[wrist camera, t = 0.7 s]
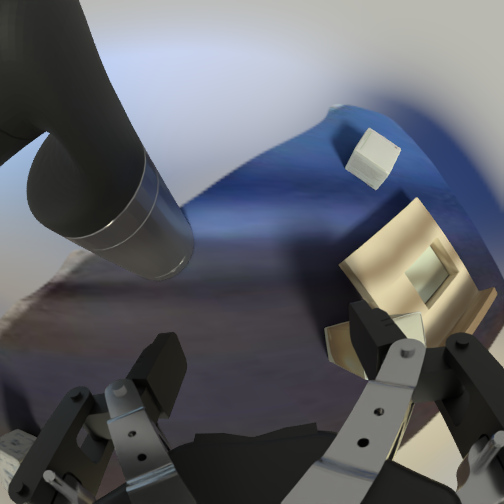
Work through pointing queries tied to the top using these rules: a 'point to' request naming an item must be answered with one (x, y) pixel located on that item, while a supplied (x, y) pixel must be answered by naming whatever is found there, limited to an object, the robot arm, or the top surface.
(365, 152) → the small box
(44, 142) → the robot arm
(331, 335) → the skincare box
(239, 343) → the top surface
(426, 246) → the rack
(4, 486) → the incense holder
